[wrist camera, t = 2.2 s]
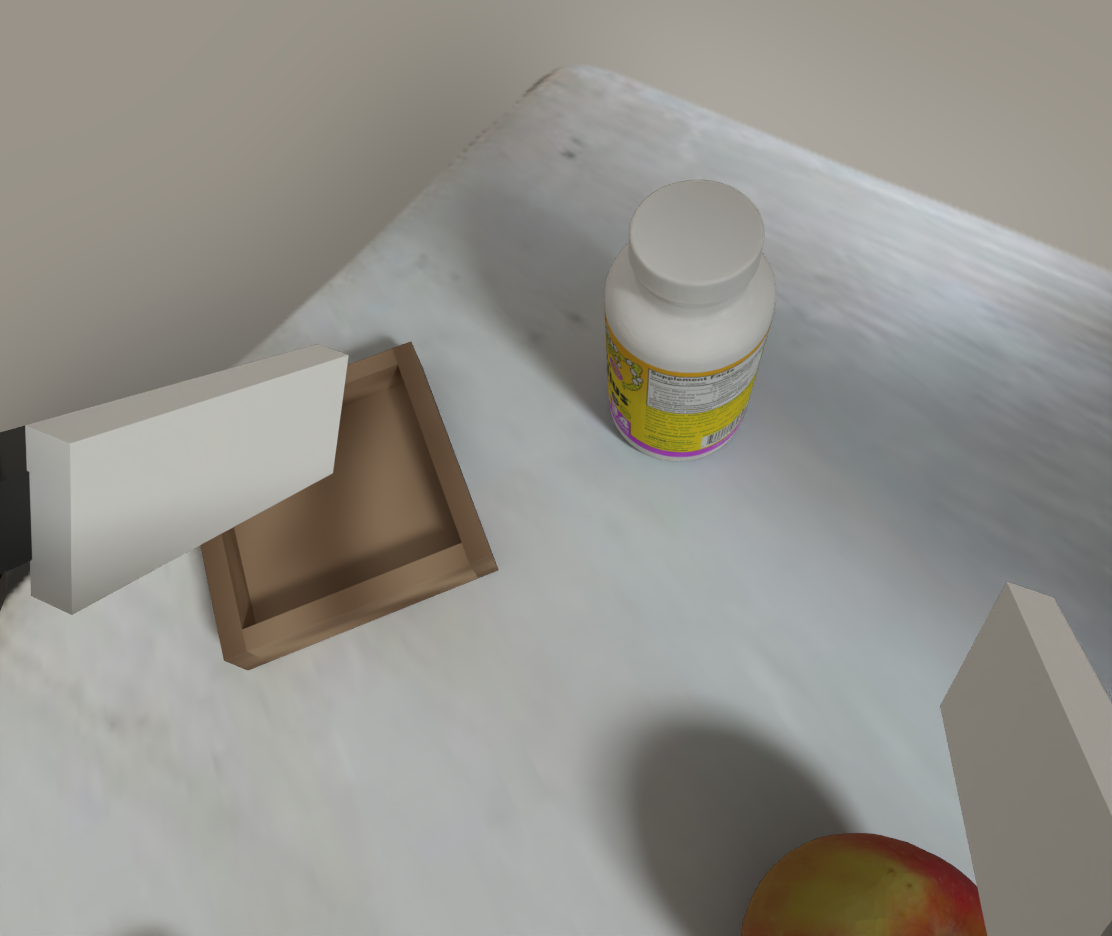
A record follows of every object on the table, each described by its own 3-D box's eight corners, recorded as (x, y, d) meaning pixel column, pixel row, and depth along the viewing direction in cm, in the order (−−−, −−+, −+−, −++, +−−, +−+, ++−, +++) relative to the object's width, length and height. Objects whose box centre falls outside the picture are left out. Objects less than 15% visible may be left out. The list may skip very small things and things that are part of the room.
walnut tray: (422, 366, 41) (410, 341, 39) (498, 570, 36) (490, 554, 34) (200, 448, 40) (176, 428, 38) (247, 670, 35) (223, 660, 33)
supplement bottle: (614, 345, 41) (610, 152, 29) (745, 352, 40) (794, 157, 28) (602, 462, 38) (592, 302, 26) (742, 473, 37) (795, 312, 26)
